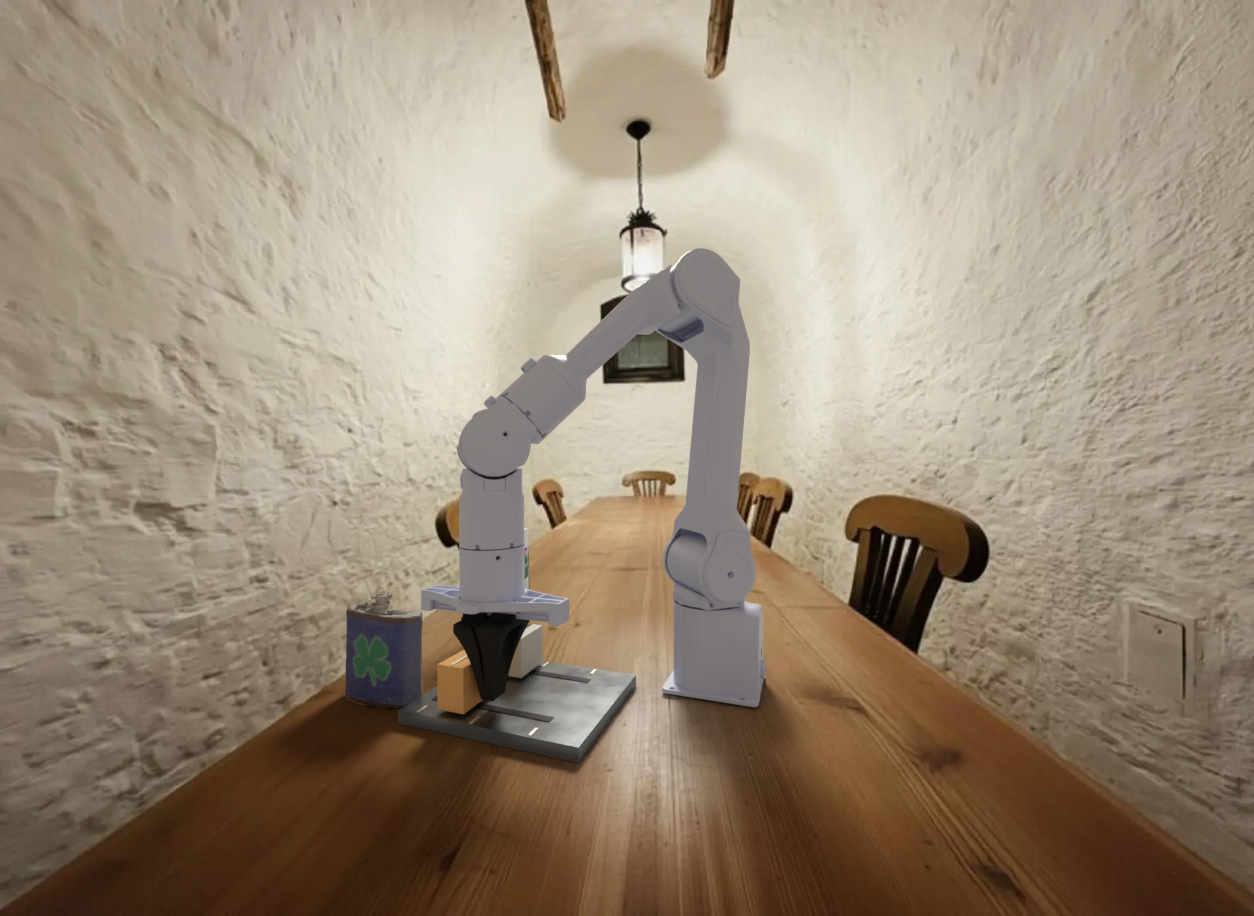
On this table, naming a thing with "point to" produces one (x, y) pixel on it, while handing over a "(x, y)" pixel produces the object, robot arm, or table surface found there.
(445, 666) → the orange fader
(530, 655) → the white fader knob
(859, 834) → the table surface
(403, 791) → the table surface
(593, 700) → the grey slotted tray
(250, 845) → the table surface
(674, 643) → the robot arm
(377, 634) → the flask
